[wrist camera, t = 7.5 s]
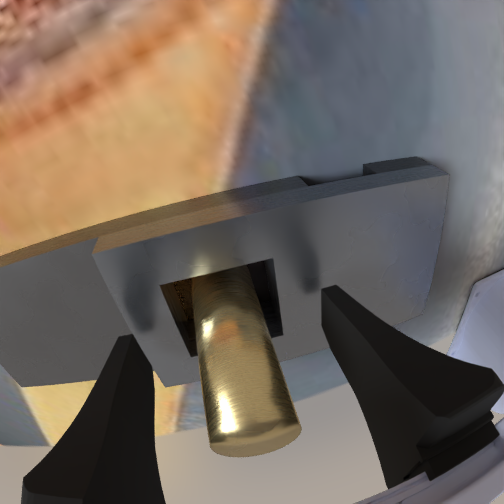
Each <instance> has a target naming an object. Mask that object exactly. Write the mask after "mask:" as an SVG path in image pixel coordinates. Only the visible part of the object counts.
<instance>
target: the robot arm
mask: <svg viewBox="0 0 504 504" xmlns="http://www.w3.org/2000/svg"><path fill="white" fill-rule="evenodd" d="M321 326H322V329H323V331H324V334H325V337H326V339H327V342H328V344H329V347H330V349H331V351H332V353H333V354H334V356H335V358H336V360H337V362H338V364H339V365H340V367H341V369H342V371H343V373H344V375H345V376H346V378H347V380H348V382H349V384H350V385H351V387H352V389H353V391H354V393H355V395H356V397H357V399H358V402H359V404H360V407H361V409H362V412H363V414H364V417H365V419H366V422H367V425H368V428H369V430H370V433H371V436H372V439H373V442H374V445H375V448H376V451H377V454H378V457H379V460H380V464H381V467H382V471H383V474H384V478H385V482H386V485H387V488H388V490H386V491H384V492H382V493H379V494H377V495H375V496H372V497H370V498H367V499H364V500H362V501H359V502H357V503H354V504H490V503H491V502H492V501H494V500H495V499H496V498H497V497H498V496H500V495H501V494H502V493H503V492H504V418H502V419H501V420H500V421H499V422H498V423H496V424H495V425H494V424H493V422H492V421H491V420H492V419H493V418H494V416H493V414H492V412H491V411H490V410H492V411H494V412H497V413H500V414H504V269H503V270H501V271H499V272H497V273H495V274H493V275H491V276H489V277H486V278H484V279H482V280H480V281H478V282H476V283H475V284H474V286H473V288H472V291H471V294H470V297H469V300H468V302H467V305H466V308H465V311H464V313H463V316H462V319H461V321H460V324H459V326H458V329H457V331H456V334H455V336H454V339H453V341H452V343H451V346H450V348H449V350H448V352H447V355H445V354H443V353H441V352H438V351H436V350H434V349H431V348H429V347H427V346H425V345H423V344H421V343H419V342H417V341H415V340H413V339H412V338H410V337H408V336H406V335H405V334H403V333H401V332H400V331H398V330H396V329H395V328H393V327H392V326H390V325H389V324H387V323H386V322H384V321H383V320H381V319H380V318H379V317H377V316H376V315H375V314H373V313H372V312H371V311H369V310H368V309H366V308H365V307H364V306H363V305H361V304H360V303H359V302H357V301H356V300H355V299H354V298H352V297H351V296H350V295H349V294H348V293H346V292H345V291H344V290H343V289H341V288H340V287H339V286H337V285H333V286H329V287H326V288H322V289H321ZM154 415H155V388H154V378H153V369H152V365H151V364H150V362H149V360H148V359H147V357H146V355H145V354H144V352H143V350H142V349H141V347H140V345H139V344H138V342H137V340H136V338H135V337H134V335H133V334H129V335H124V336H119V337H118V338H117V340H116V342H115V344H114V346H113V348H112V350H111V352H110V355H109V357H108V359H107V361H106V363H105V365H104V367H103V369H102V371H101V373H100V375H99V377H98V379H97V381H96V383H95V385H94V387H93V389H92V390H91V392H90V394H89V396H88V398H87V400H86V402H85V403H84V405H83V407H82V408H81V410H80V412H79V413H78V415H77V416H76V418H75V419H74V421H73V422H72V424H71V425H70V427H69V428H68V429H67V431H66V432H65V433H64V435H63V436H62V437H61V439H60V440H59V441H58V443H57V444H56V445H55V446H54V447H53V449H52V450H51V451H50V452H49V453H48V454H47V455H46V456H45V457H44V458H43V460H42V461H41V462H40V463H39V464H38V465H36V466H35V467H34V468H33V469H32V470H31V471H30V472H29V473H28V474H27V475H26V476H25V477H24V478H23V486H22V498H21V504H166V503H165V499H164V495H163V491H162V487H161V481H160V476H159V471H158V464H157V458H156V451H155V430H154Z"/></svg>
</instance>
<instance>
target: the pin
mask: <svg viewBox="0 0 504 504" xmlns="http://www.w3.org/2000/svg"><path fill="white" fill-rule="evenodd" d="M191 288H192V300H193V311H194V322H195V332H196V342H197V352H198V361H199V369H200V378H201V386H202V394H203V401H204V409H205V416H206V423H207V430H208V437H209V443H210V448H211V449H212V450H213V451H214V452H215V453H217V454H220V455H224V456H228V457H249V456H257V455H262V454H265V453H269V452H272V451H275V450H277V449H280V448H282V447H284V446H286V445H288V444H289V443H291V442H292V441H294V440H295V439H296V438H297V437H298V436H299V435H300V433H301V430H302V429H301V425H300V422H299V419H298V416H297V413H296V410H295V407H294V404H293V401H292V398H291V395H290V392H289V389H288V386H287V384H286V381H285V378H284V375H283V372H282V369H281V366H280V363H279V360H278V357H277V354H276V351H275V348H274V345H273V342H272V339H271V336H270V333H269V330H268V327H267V324H266V321H265V318H264V315H263V312H262V309H261V306H260V303H259V300H258V297H257V294H256V291H255V288H254V285H253V282H252V279H251V276H250V273H249V270H248V267H247V264H246V265H242V266H238V267H234V268H230V269H225V270H221V271H217V272H213V273H209V274H204V275H200V276H196V277H192V278H191Z"/></svg>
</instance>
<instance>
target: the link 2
mask: <svg viewBox="0 0 504 504" xmlns="http://www.w3.org/2000/svg"><path fill="white" fill-rule="evenodd" d="M448 184H449V174H448V173H446V172H444V171H442V170H441V169H439V168H437V167H435V166H433V165H431V164H430V163H428V162H426V161H424V160H422V159H420V158H418V157H409V158H402V159H395V160H388V161H381V162H375V163H368V164H363V176H361V177H355V178H350V179H344V180H339V181H333V182H328V183H323V184H318V185H313V186H308V187H303V188H298V189H293V190H288V191H283V192H278V193H274V194H269V195H264V196H260V197H255V198H251V199H246V200H242V201H237V202H233V203H229V204H224V205H220V206H216V207H211V208H207V209H203V210H199V211H195V212H191V213H187V214H183V215H179V216H175V217H171V218H167V219H163V220H159V221H155V222H151V223H148V224H144V225H140V226H136V227H133V228H129V229H125V230H122V231H118V232H114V233H111V234H107V235H104V236H100V237H98V240H97V242H96V245H95V247H94V250H93V252H92V256H93V258H94V260H95V262H96V264H97V267H98V269H99V271H100V273H101V275H102V277H103V279H104V281H105V283H106V285H107V287H108V289H109V291H110V293H111V295H112V297H113V299H114V301H115V303H116V305H117V306H118V308H119V310H120V312H121V314H122V316H123V318H124V319H125V321H126V323H127V325H128V327H129V328H130V330H131V332H132V334H133V335H134V337H135V338H136V340H137V342H138V344H139V345H140V347H141V349H142V350H143V352H144V354H145V355H146V357H147V359H148V360H149V362H150V364H151V365H152V367H153V369H154V371H155V372H156V374H157V375H158V377H159V378H160V380H161V382H162V383H163V385H164V386H165V387H170V386H176V385H182V384H187V383H192V382H197V381H201V378H200V369H199V361H198V352H197V342H196V337H191V338H189V336H188V334H187V332H186V329H185V327H184V324H183V322H182V320H181V317H180V315H179V312H178V310H177V308H176V305H175V303H174V300H173V298H172V295H171V293H170V290H169V288H168V285H167V283H171V282H175V281H179V280H183V279H188V278H192V277H196V276H200V275H204V274H209V273H213V272H217V271H221V270H225V269H230V268H234V267H238V266H242V265H246V264H250V263H254V262H258V261H263V260H267V259H268V261H269V268H270V274H271V281H272V288H273V295H274V302H275V309H276V315H277V317H275V318H271V319H267V320H265V321H266V324H267V327H268V330H269V333H270V336H271V339H272V342H273V345H274V348H275V351H276V354H277V357H278V360H279V362H282V361H286V360H289V359H293V358H296V357H300V356H303V355H307V354H310V353H313V352H317V351H320V350H323V349H326V348H330V347H329V344H328V342H327V339H326V337H325V334H324V331H323V329H322V326H321V289H322V288H326V287H329V286H333V285H337V286H339V287H340V288H341V289H343V290H344V291H345V292H346V293H348V294H349V295H350V296H351V297H352V298H354V299H355V300H356V301H357V302H359V303H360V304H361V305H363V306H364V307H365V308H366V309H368V310H369V311H371V312H372V313H373V314H375V315H376V316H377V317H379V318H380V319H381V320H383V321H384V322H386V323H387V324H389V325H390V326H393V325H396V324H399V323H401V322H404V321H407V320H409V319H412V318H414V317H417V316H419V315H422V314H423V313H424V309H425V306H426V302H427V298H428V294H429V290H430V286H431V282H432V278H433V273H434V269H435V264H436V259H437V255H438V250H439V244H440V239H441V233H442V227H443V221H444V215H445V208H446V201H447V193H448Z"/></svg>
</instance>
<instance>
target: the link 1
mask: <svg viewBox="0 0 504 504" xmlns="http://www.w3.org/2000/svg"><path fill="white" fill-rule="evenodd" d="M303 187H308V185H307V184H306V183H305V182H304V181H303V180H302V179H301V178H300V177H299V176H295V177H290V178H285V179H280V180H275V181H270V182H265V183H260V184H256V185H251V186H246V187H242V188H237V189H233V190H228V191H224V192H220V193H215V194H211V195H207V196H203V197H198V198H194V199H190V200H186V201H182V202H178V203H174V204H170V205H166V206H163V207H159V208H155V209H151V210H147V211H144V212H140V213H136V214H133V215H129V216H126V217H122V218H118V219H115V220H111V221H108V222H105V223H101V224H98V225H94V226H91V227H88V228H84V229H81V230H78V231H75V232H71V233H68V234H65V235H62V236H59V237H56V238H53V239H49V240H46V241H43V242H40V243H37V244H34V245H31V246H28V247H25V248H23V249H20V250H17V251H14V252H11V253H8V254H5V255H3V256H0V364H1V365H2V366H3V367H4V368H5V370H6V371H7V372H8V373H9V374H10V375H11V376H12V377H13V378H14V379H15V381H16V382H17V383H18V384H19V385H20V386H21V387H32V386H44V385H55V384H65V383H74V382H82V381H90V380H97V379H98V377H99V375H100V373H101V371H102V369H103V367H104V365H105V363H106V361H107V359H108V357H109V355H110V352H111V350H112V348H113V346H114V344H115V342H116V340H117V338H118V337H119V336H124V335H129V334H132V332H131V330H130V328H129V327H128V325H127V323H126V321H125V319H124V318H123V316H122V314H121V312H120V310H119V308H118V306H117V305H116V303H115V301H114V299H113V297H112V295H111V293H110V291H109V289H108V287H107V285H106V283H105V281H104V279H103V277H102V275H101V273H100V271H99V269H98V267H97V264H96V262H95V260H94V258H93V256H92V252H93V250H94V247H95V245H96V242H97V240H98V237H100V236H104V235H107V234H111V233H114V232H118V231H122V230H125V229H129V228H133V227H136V226H140V225H144V224H148V223H151V222H155V221H159V220H163V219H167V218H171V217H175V216H179V215H183V214H187V213H191V212H195V211H199V210H203V209H207V208H211V207H216V206H220V205H224V204H229V203H233V202H237V201H242V200H246V199H251V198H255V197H260V196H264V195H269V194H274V193H278V192H283V191H288V190H293V189H298V188H303ZM264 262H265V268H266V275H267V281H268V287H269V294H270V300H271V301H267V302H263V303H260V306H261V309H262V312H263V315H264V318H265V320H267V319H271V318H275V317H277V315H276V309H275V302H274V295H273V288H272V281H271V274H270V268H269V261H268V259H267V260H264ZM167 285H168V288H169V290H170V293H171V295H172V298H173V300H174V303H175V305H176V308H177V310H178V312H179V315H180V317H181V320H182V322H183V324H184V327H185V329H186V332H187V334H188V336H189V338H191V337H196V332H195V322H194V319H192V320H188V319H187V317H186V314H185V312H184V309H183V307H182V304H181V302H180V299H179V297H178V294H177V291H176V289H175V286H174V283H173V282H171V283H167ZM152 369H153V367H152ZM153 371H154V369H153Z"/></svg>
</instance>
